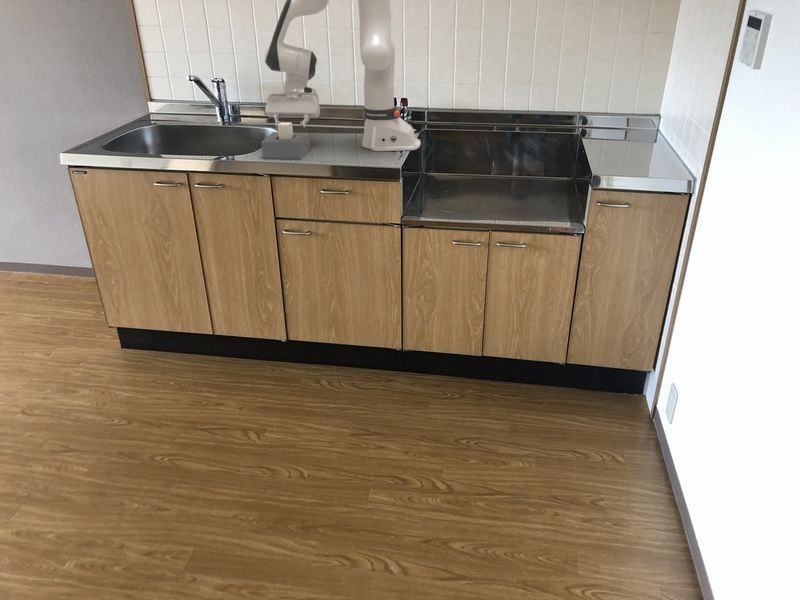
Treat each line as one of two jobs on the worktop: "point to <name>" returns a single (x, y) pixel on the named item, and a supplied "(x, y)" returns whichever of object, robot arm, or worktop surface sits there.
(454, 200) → the worktop surface
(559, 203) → the worktop surface
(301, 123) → the robot arm
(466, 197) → the worktop surface
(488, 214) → the worktop surface
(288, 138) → the plug
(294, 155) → the grey socket block
